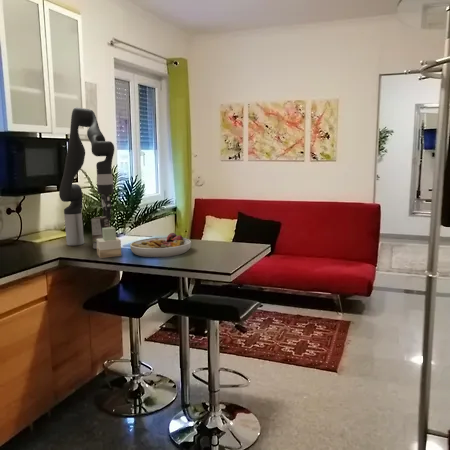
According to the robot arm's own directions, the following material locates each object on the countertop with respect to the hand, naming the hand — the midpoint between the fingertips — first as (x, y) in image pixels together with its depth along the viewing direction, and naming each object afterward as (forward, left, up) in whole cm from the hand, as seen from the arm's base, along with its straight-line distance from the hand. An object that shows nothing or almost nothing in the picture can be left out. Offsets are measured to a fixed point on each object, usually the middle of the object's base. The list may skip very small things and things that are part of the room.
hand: (107, 217), depth 225 cm
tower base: (0, 0, -19) cm, 19 cm away
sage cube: (0, 0, -11) cm, 11 cm away
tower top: (0, 0, -15) cm, 15 cm away
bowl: (+7, +24, -19) cm, 32 cm away
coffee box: (-22, 0, -19) cm, 29 cm away
